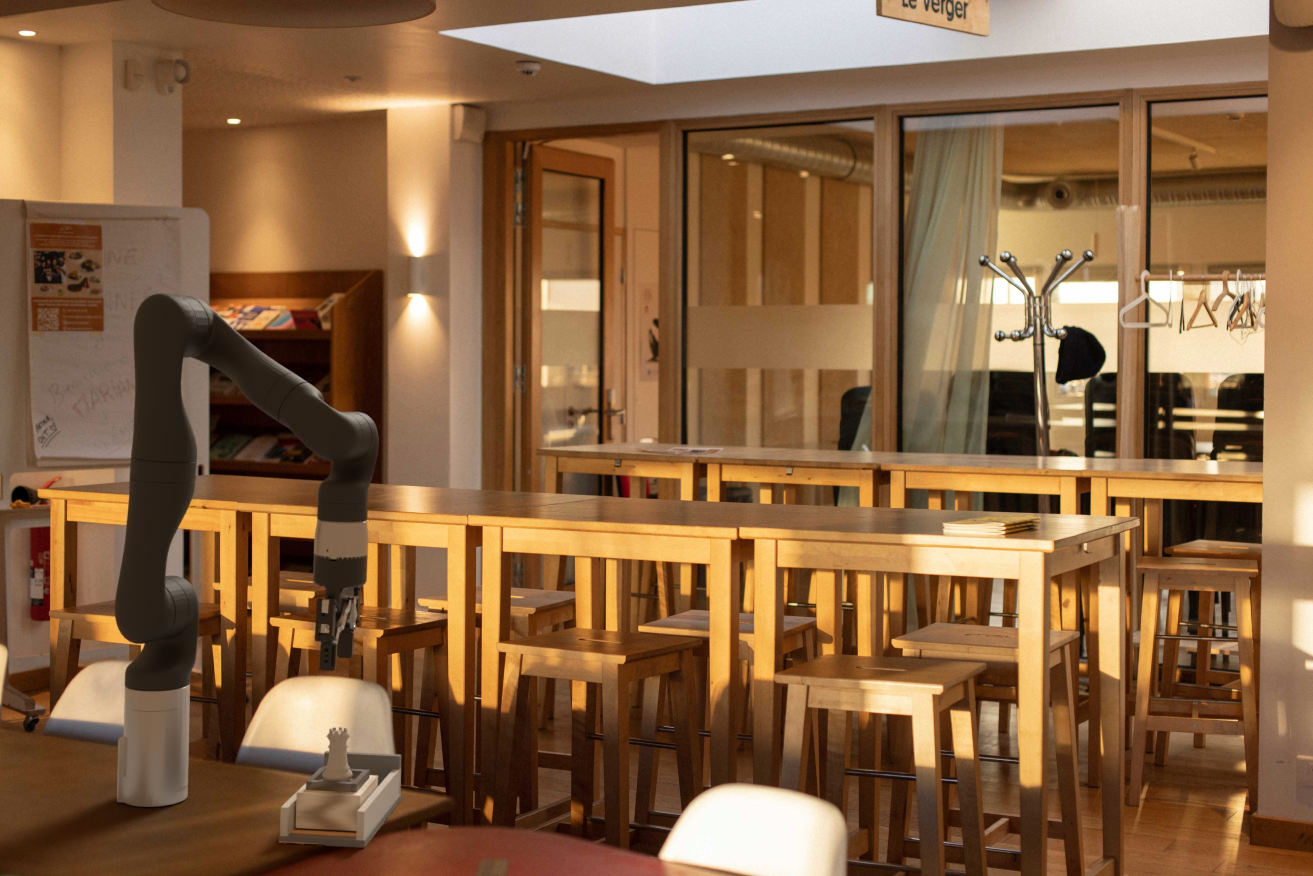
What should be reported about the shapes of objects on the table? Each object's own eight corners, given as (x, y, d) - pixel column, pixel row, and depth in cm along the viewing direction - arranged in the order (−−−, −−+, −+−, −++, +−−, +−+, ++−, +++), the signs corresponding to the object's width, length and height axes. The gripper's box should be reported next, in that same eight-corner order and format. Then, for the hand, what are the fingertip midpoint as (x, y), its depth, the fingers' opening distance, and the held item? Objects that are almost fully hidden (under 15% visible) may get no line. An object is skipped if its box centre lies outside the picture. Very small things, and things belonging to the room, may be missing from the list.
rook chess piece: (344, 790, 201) (346, 734, 201) (315, 787, 202) (316, 731, 202) (358, 782, 205) (359, 727, 205) (329, 779, 206) (330, 724, 206)
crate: (295, 827, 200) (296, 783, 199) (316, 806, 210) (317, 764, 209) (359, 831, 199) (360, 787, 199) (377, 809, 209) (378, 767, 209)
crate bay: (278, 843, 197) (279, 792, 197) (323, 796, 219) (324, 750, 219) (364, 847, 196) (366, 797, 196) (401, 800, 218) (402, 754, 218)
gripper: (329, 543, 212) (325, 652, 213) (299, 556, 198) (295, 672, 198) (379, 546, 211) (375, 655, 212) (353, 559, 197) (348, 676, 198)
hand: (336, 663), depth 205 cm, fingers open, 8 cm apart
